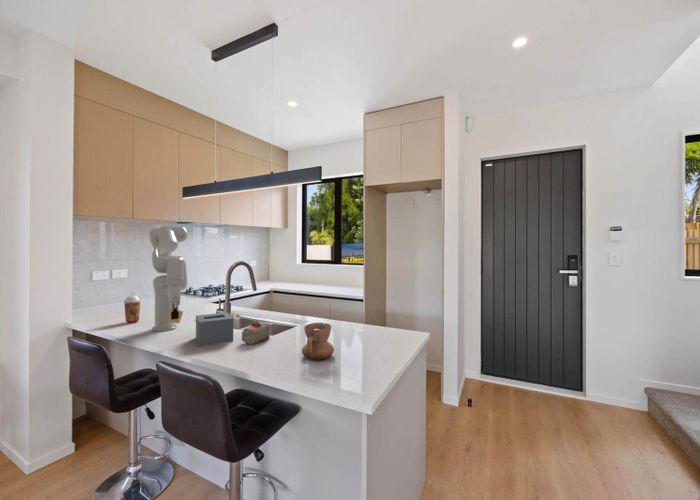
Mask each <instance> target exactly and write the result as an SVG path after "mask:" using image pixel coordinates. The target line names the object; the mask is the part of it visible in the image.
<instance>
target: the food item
mask: <svg viewBox="0 0 700 500" xmlns="http://www.w3.org/2000/svg"><path fill="white" fill-rule="evenodd" d="M250 325H251V326H249V327H246V328H244V330H242V332H241V341H242V342H244V343H245V344H247V345H252V346H253V345H255V344H257V343H260V342H263V341H266V340H268V339H270V325H269V324H267V323H265V322H261V323H260V322H252V323H251V324H250Z"/></svg>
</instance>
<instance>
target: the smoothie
mask: <svg viewBox="0 0 700 500" xmlns="http://www.w3.org/2000/svg"><path fill="white" fill-rule="evenodd" d="M123 303H124V314H125V315H124V316H125V317H124V318H125V322H126V324H136V323H139V320H140V309H141V299H140V298H139V297H138V296H137V295H135V294H134V290H132V291H131V295H129V296H127V297H126V298H125V300H124V301H123Z"/></svg>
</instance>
